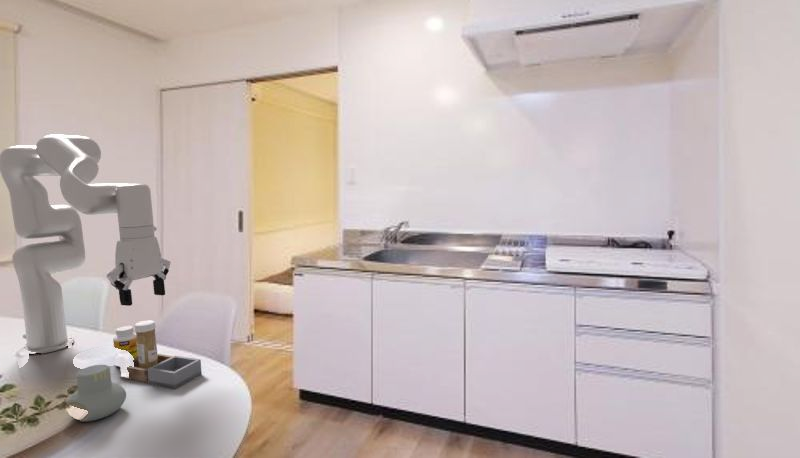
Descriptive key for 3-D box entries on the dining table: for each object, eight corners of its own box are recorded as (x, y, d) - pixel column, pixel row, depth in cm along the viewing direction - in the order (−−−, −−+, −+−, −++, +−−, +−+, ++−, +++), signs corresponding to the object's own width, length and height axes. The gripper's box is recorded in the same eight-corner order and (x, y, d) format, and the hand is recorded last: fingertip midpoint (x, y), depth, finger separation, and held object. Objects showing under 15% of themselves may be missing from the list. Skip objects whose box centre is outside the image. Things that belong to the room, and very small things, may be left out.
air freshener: (133, 408, 98) (129, 365, 96) (97, 429, 90) (92, 382, 89) (98, 400, 101) (94, 358, 100) (60, 419, 94) (55, 374, 92)
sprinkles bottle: (160, 373, 115) (155, 323, 113) (139, 377, 113) (135, 326, 111) (158, 367, 119) (154, 318, 117) (138, 371, 116) (134, 321, 115)
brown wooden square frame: (120, 377, 113) (119, 366, 113) (150, 363, 121) (150, 352, 121) (147, 382, 110) (146, 370, 110) (176, 367, 118) (175, 356, 118)
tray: (148, 384, 109) (147, 368, 108) (176, 370, 117) (175, 355, 116) (175, 389, 106) (174, 373, 106) (201, 374, 114) (200, 359, 114)
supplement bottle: (118, 370, 117) (114, 333, 116) (113, 364, 121) (110, 328, 120) (142, 364, 121) (138, 328, 120) (136, 358, 125) (133, 323, 124)
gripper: (155, 229, 121) (160, 290, 123) (92, 237, 104) (100, 308, 106) (176, 229, 118) (182, 292, 120) (116, 238, 102) (123, 310, 104)
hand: (143, 299), depth 113 cm, fingers open, 9 cm apart
